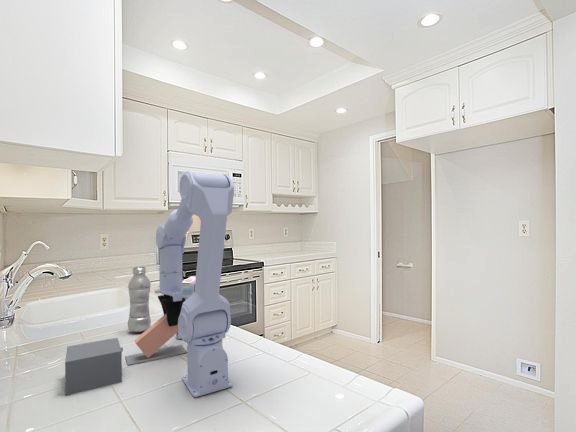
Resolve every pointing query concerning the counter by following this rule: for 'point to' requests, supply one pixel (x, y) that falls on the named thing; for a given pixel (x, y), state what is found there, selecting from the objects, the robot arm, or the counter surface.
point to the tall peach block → (156, 336)
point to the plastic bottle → (139, 301)
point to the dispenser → (93, 365)
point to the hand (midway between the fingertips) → (171, 323)
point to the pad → (155, 355)
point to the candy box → (187, 292)
